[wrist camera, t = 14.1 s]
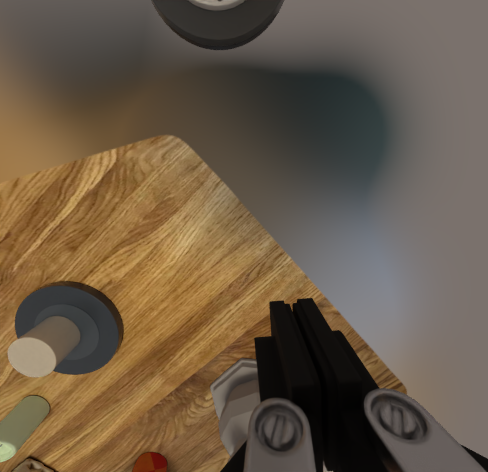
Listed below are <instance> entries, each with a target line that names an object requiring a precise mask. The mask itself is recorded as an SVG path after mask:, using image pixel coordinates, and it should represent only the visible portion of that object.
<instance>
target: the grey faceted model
mask: <svg viewBox="0 0 488 472" xmlns="http://www.w3.org/2000/svg"><path fill="white" fill-rule="evenodd" d="M210 388H211V392H212V396H213V400H214V405H215V409H216V414H217V416H218V418H219V419H220V420H219V431H220V439H221V441H222V442H223V444H224V446H225V448H226V450H227V451H228V453H229V455H230V458H229V460H228V462H229V461H230V459H231V458H232V457H233V456H234V455H235V453H236V452H237V451H238V450H239V449H240V447H241V446H242V445H243V444H244V442H245V441H246V440H247V435H248V425H249V420H250V416H251V414H252V412H253V410H254V409H255V407H256V406H257V405H259V404H260V394H259V384H258V373H257V362H256V359H246V358H241V359H240V360H239V361H237V362H236V363H235V364H234V365H232V366H231V367H230V368H229V369H227V370H226V371H225V372H224V373H223V374H221V375H220V376H219V377H218V378H217V379H216V380H215V381H214V382H213V383H212V384H211V385H210ZM323 472H327V469H326V467H325V464H324V461H323Z"/></svg>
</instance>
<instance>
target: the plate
mask: <svg viewBox="0 0 488 472" xmlns="http://www.w3.org/2000/svg"><path fill="white" fill-rule="evenodd" d="M52 316H61V317H65V318H67V319H69V320H71V321H72V322H73V323H75V325H76V326H77V327H78V329H79V331H80V342H79V344H78V345H77V346H76V347H75V348H74V349H73V350H72V352H71V353H70V354H69V355H68V356H67V357H66V358H65V359H64V360H63V361H62V362H61V363H60V364H59V365H58V366H57V367H56V368H55V369H54V370H53V371H55V372H59V373H63V374H71V375H78V374H86V373H90V372H93V371H95V370H98V369H100V368H101V367H103V366H104V365H105V364H107V363H108V362H109V361H110V360H111V358H112V357H113V356H114V354H115V353H116V352H117V350H118V348H119V347H120V344H121V342H122V338H123V324H122V320H121V317H120V314H119V312H118V310H117V309H116V307H115V306H114V304H113V303H112V302H111V301H110V300H109V299H108V298H107V297H106V296H105V295H103V294H102V293H101V292H99V291H98V290H96V289H94V288H92V287H90V286H87V285H84V284H81V283H76V282H56V283H52V284H49V285H46V286H44V287H42V288H40V289H38V290H36V291H35V292H33V293H31V294H30V295H29V296H27V297H26V298H25V299H24V300H23V302H22V303H21V304H20V306H19V308H18V310H17V313H16V317H15V330H16V334H17V338H19V337H21V336H22V335H24V334H25V333H26V332H28V331H29V330H31V329H32V328H33V327H35V326H36V325H38V324H39V323H40V322H42V321H43V320H45V319H46V318H48V317H52Z"/></svg>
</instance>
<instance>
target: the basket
mask: <svg viewBox="0 0 488 472" xmlns="http://www.w3.org/2000/svg"><path fill="white" fill-rule="evenodd" d="M12 472H54V471H53V470H51V469H49V468H47V467H45V466H44V465H43V464H42V463H40V462H38V461H34V460H32V459H26V460H25V461H24V462H23V463H22V464H20V465H19V466H18V467H17V468H15V469H14V471H12Z"/></svg>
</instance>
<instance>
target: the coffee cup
mask: <svg viewBox="0 0 488 472" xmlns="http://www.w3.org/2000/svg"><path fill="white" fill-rule="evenodd" d="M166 470H167V461H166V459H165V458H164V457H163V456H162V455H160V454H158V453H154V452H148V453H144V454H142V455H141V456H140V457H139V458H138V460H137V461H136V464H135V466H134V468H133V470H132V472H166Z"/></svg>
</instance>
